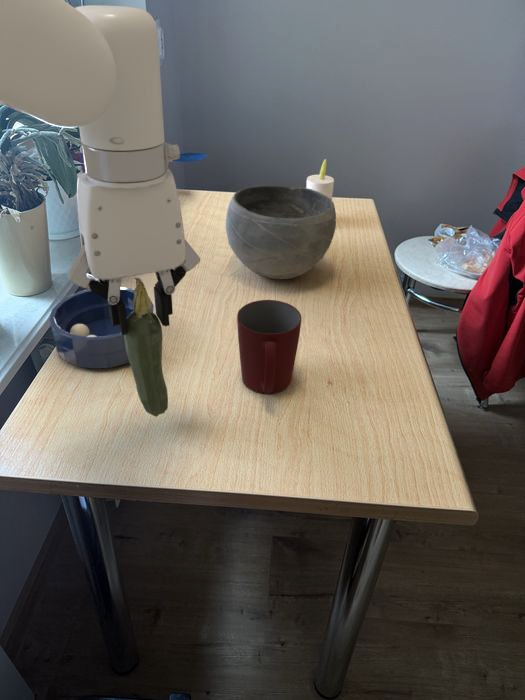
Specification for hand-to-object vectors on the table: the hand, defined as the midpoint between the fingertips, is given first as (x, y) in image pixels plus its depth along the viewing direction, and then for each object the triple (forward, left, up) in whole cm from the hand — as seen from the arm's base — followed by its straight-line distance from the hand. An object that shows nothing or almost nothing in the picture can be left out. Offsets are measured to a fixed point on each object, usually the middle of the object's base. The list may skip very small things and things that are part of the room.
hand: (142, 322), depth 61 cm
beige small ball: (-5, +23, -14) cm, 28 cm away
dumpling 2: (-4, +19, -14) cm, 24 cm away
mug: (+17, +2, -17) cm, 24 cm away
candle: (+55, +53, -17) cm, 79 cm away
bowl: (+35, +34, -17) cm, 52 cm away
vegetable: (0, 0, -15) cm, 15 cm away
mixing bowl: (-2, +22, -17) cm, 28 cm away
